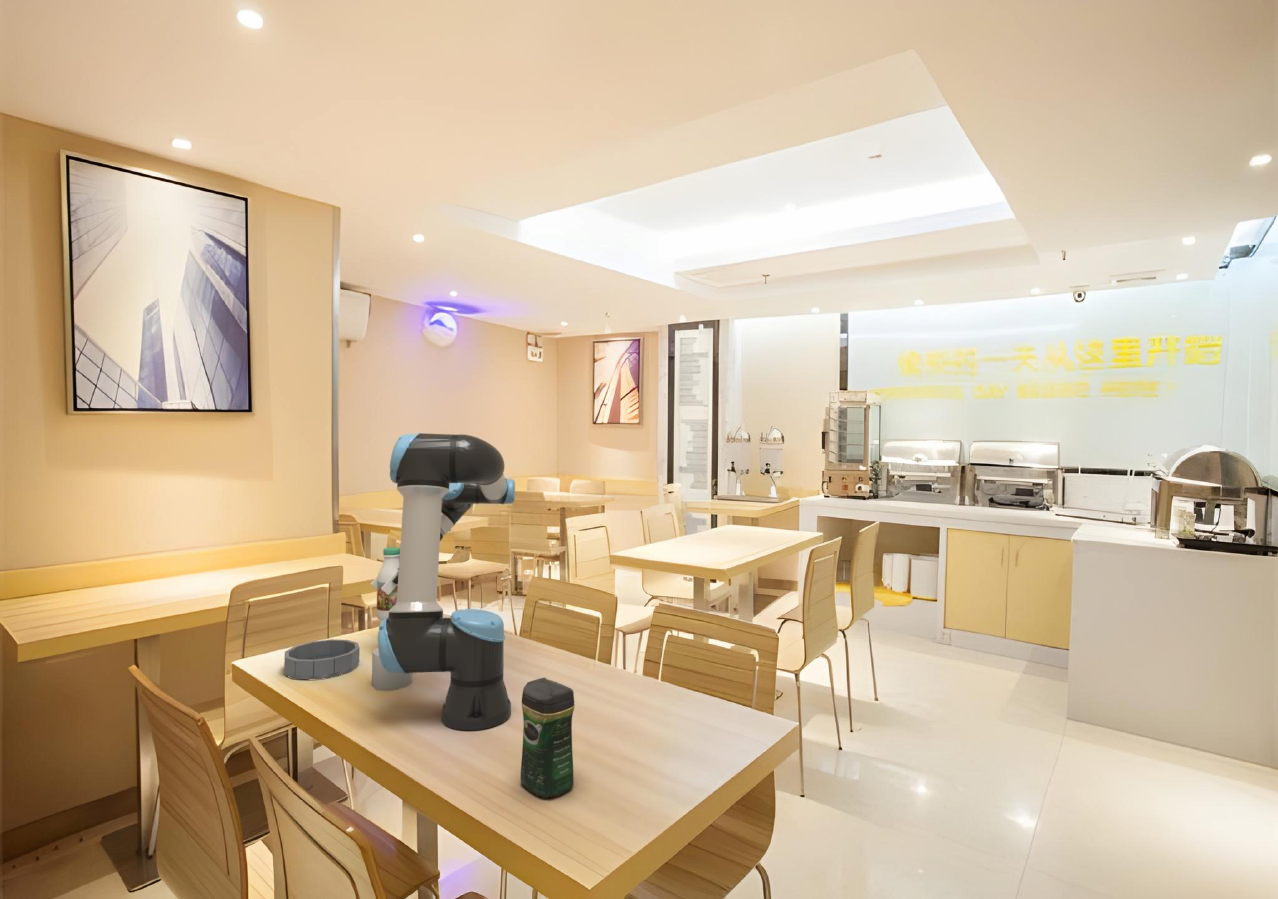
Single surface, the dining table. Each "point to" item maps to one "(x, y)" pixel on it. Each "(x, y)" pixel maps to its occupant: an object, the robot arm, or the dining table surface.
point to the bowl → (321, 659)
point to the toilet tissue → (387, 676)
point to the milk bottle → (384, 575)
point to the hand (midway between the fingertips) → (379, 589)
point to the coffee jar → (547, 737)
